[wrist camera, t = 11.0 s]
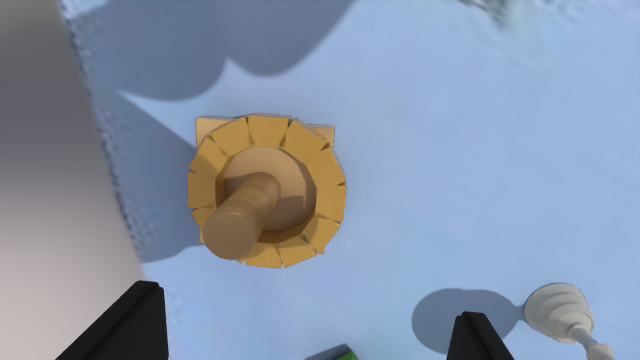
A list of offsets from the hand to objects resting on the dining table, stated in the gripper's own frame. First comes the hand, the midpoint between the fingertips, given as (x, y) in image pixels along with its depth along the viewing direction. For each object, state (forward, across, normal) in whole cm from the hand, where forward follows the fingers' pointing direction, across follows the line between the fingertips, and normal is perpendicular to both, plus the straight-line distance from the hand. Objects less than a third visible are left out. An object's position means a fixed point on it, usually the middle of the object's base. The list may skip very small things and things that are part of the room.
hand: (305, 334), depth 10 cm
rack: (+16, +5, 0) cm, 17 cm away
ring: (+14, +4, 0) cm, 15 cm away
